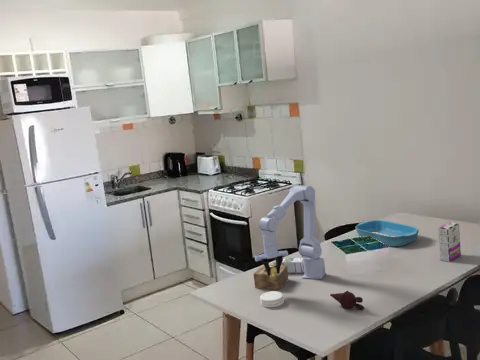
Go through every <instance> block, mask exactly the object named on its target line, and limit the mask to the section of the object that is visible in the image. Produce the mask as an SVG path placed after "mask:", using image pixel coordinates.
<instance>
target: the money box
mask: <svg viewBox="0 0 480 360" xmlns="http://www.w3.org/2000/svg"><path fill="white" fill-rule="evenodd" d="M253 279H254V280H253V281H254V288H255V289H266V290H267V289H269V290H273V289H274V290H281V289H282V288H283V286H284V285H285V284H286V283H287V282H288V280H289V273H288V271H287V266H283V265H281V267H280V274H278V278H275V279H271V278H269V276H268V275H267V271H266V269H265V266H264V264H262V265H261V266H259V267H258V269H257V270H256V271H255V272H254V273H253Z"/></svg>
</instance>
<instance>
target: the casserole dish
mask: <svg viewBox="0 0 480 360" xmlns="http://www.w3.org/2000/svg"><path fill="white" fill-rule="evenodd" d="M355 230H356V232H357V235H358V236H359V237H360V236H361V237H363V236H371V237H373V238H375V239H377V240H379V241H381V242H382V243H384V244H386V245H390V246H389V247H391V246H399V247H402V246H404V245H405V246H406V245H408V244H411V243H412V242H414V241H416V239H417V237H418V234H419V231H420V229H419V228H418V227H416V226H412V225H408V224H403V223H400V222H395V221H391V220H384V219H375V220H366V221H362V222H360V223H358V224H356V226H355ZM372 232H378V233H382V234H387V235H389V236H384V235H380V234H376V233H372ZM391 236H395V237H391ZM361 237H360V238H361ZM410 242H411V243H410ZM407 243H408V244H407ZM386 245H385V246H386Z"/></svg>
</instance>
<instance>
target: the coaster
mask: <svg viewBox="0 0 480 360" xmlns="http://www.w3.org/2000/svg"><path fill="white" fill-rule="evenodd" d="M284 297H285V296H284V294H283V292H281V291H279V290H277V291H276V290H272V291H270V290H269V291H266V292H264V293H262V294H261V295H260V297H259V299H260V301H259V302H260V305H261V306H262V307H264V308H277V307H280V306H282V305H283V304H284V303H285V299H284Z"/></svg>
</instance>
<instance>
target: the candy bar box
mask: <svg viewBox="0 0 480 360" xmlns="http://www.w3.org/2000/svg"><path fill="white" fill-rule="evenodd" d="M460 235H461V234H460V222H454V221H449V222H447V223H445V224H444V225H441V226H440V227H438V239H439V252H440V253H439V254H440V255H439V256H440V261H441V262H448V263H451V262H453V261H454V260H456V259H457V258H458V257H460V256H461V255H462V254H461V253H462V252H461V250H462V249H461V237H460Z"/></svg>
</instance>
